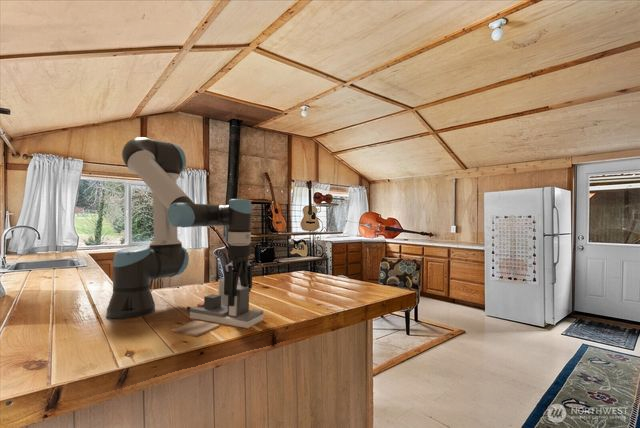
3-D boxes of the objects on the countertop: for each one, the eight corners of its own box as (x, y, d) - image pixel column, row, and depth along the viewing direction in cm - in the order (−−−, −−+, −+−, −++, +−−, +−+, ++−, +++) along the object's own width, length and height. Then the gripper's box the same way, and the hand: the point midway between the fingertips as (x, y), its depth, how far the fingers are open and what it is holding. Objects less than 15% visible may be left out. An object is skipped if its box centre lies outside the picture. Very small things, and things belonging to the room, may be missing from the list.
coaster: (171, 331, 99) (171, 329, 99) (195, 321, 109) (195, 320, 109) (196, 336, 96) (196, 334, 96) (219, 326, 105) (219, 324, 105)
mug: (243, 310, 123) (244, 280, 123) (219, 312, 119) (219, 282, 119) (239, 302, 134) (239, 275, 134) (216, 304, 130) (217, 276, 131)
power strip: (189, 317, 113) (190, 297, 113) (207, 310, 121) (208, 291, 121) (247, 328, 104) (248, 305, 104) (263, 319, 112) (263, 298, 112)
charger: (227, 316, 109) (228, 288, 109) (236, 311, 114) (237, 285, 114) (239, 318, 107) (240, 289, 107) (248, 313, 112) (249, 286, 112)
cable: (202, 313, 118) (202, 310, 118) (200, 313, 117) (200, 311, 117) (188, 308, 124) (188, 306, 124) (186, 308, 123) (186, 306, 123)
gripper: (231, 247, 101) (230, 322, 101) (263, 243, 117) (262, 307, 117) (212, 246, 104) (211, 319, 104) (246, 241, 120) (244, 304, 120)
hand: (238, 312), depth 110 cm, fingers closed on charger, 5 cm apart
